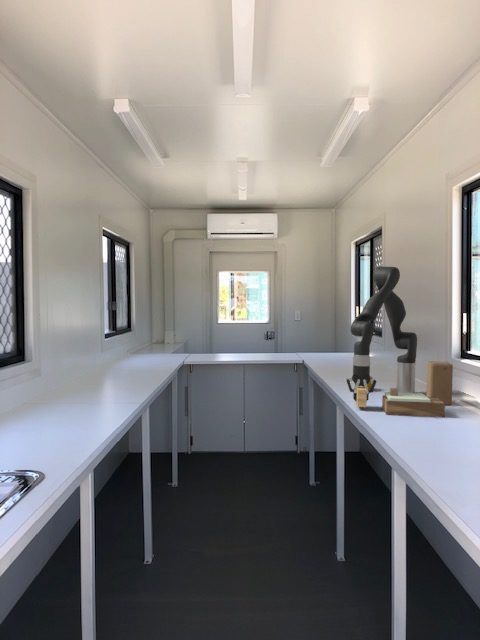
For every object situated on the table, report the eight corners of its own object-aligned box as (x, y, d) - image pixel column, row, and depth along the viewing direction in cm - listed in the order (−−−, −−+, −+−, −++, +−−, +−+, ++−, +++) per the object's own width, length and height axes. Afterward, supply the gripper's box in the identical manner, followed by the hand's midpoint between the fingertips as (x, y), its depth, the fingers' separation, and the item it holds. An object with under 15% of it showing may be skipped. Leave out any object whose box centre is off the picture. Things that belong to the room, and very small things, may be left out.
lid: (384, 394, 208) (384, 385, 208) (423, 396, 206) (423, 387, 206) (389, 400, 196) (389, 391, 195) (430, 402, 193) (430, 392, 193)
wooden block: (452, 405, 214) (453, 364, 213) (429, 404, 216) (431, 363, 215) (446, 401, 224) (448, 361, 223) (425, 400, 226) (426, 360, 225)
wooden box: (382, 408, 208) (382, 395, 208) (436, 410, 205) (437, 397, 204) (386, 414, 197) (386, 401, 196) (444, 417, 193) (444, 403, 193)
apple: (375, 390, 250) (376, 374, 249) (369, 392, 243) (369, 376, 243) (361, 388, 255) (362, 372, 255) (354, 390, 249) (354, 374, 249)
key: (355, 402, 213) (355, 385, 212) (364, 402, 212) (364, 385, 212) (357, 406, 204) (357, 389, 203) (366, 407, 203) (366, 389, 203)
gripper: (376, 363, 210) (375, 400, 210) (345, 362, 212) (344, 398, 213) (378, 366, 202) (377, 403, 203) (346, 365, 205) (345, 402, 205)
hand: (360, 400), depth 208 cm, fingers closed on key, 4 cm apart
